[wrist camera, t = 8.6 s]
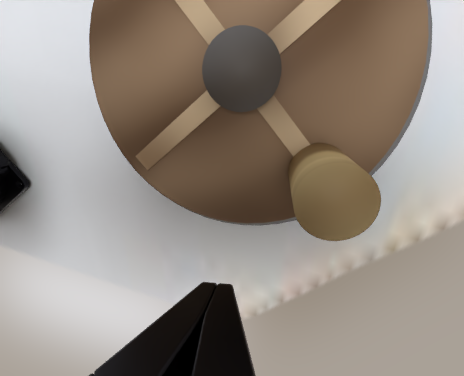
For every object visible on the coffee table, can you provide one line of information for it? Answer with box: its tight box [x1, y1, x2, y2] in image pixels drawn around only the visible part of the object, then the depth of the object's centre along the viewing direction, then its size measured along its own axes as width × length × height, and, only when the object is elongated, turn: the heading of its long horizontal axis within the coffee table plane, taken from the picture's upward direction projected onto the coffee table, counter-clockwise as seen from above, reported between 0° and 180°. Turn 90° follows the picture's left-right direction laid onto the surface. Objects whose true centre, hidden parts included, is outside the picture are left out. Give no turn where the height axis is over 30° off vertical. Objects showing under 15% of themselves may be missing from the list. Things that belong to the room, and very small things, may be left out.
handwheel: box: [89, 0, 429, 241], centre depth 12 cm, size 16×16×6 cm
